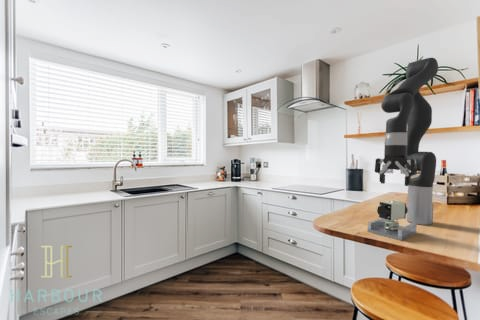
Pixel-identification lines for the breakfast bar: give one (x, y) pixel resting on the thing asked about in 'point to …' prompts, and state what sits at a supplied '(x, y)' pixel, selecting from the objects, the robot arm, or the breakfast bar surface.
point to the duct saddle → (399, 234)
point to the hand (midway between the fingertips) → (394, 184)
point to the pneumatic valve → (392, 213)
